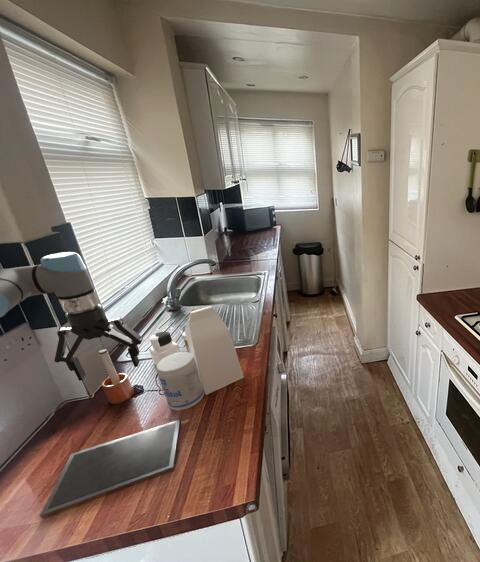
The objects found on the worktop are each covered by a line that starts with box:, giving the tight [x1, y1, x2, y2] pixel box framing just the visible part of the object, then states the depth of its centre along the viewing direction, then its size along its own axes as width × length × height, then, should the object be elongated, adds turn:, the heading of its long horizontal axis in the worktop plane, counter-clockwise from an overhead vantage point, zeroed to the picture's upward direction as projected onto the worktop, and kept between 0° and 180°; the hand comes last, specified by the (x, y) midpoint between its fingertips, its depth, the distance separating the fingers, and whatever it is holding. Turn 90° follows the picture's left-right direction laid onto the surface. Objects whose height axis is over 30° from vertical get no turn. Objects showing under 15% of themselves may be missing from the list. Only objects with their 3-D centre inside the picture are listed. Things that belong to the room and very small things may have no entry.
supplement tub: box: [156, 351, 205, 411], centre depth 92 cm, size 10×10×15 cm
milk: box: [184, 305, 245, 396], centre depth 99 cm, size 12×12×26 cm
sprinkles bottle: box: [181, 331, 190, 353], centre depth 109 cm, size 5×5×13 cm
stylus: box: [98, 348, 120, 385], centre depth 93 cm, size 2×2×17 cm
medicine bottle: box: [148, 331, 181, 367], centre depth 110 cm, size 7×7×12 cm
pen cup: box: [101, 372, 135, 404], centre depth 95 cm, size 6×6×7 cm
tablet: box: [39, 419, 182, 520], centre depth 75 cm, size 24×16×1 cm, turn 115°
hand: (110, 370), depth 93 cm, fingers open, 13 cm apart
